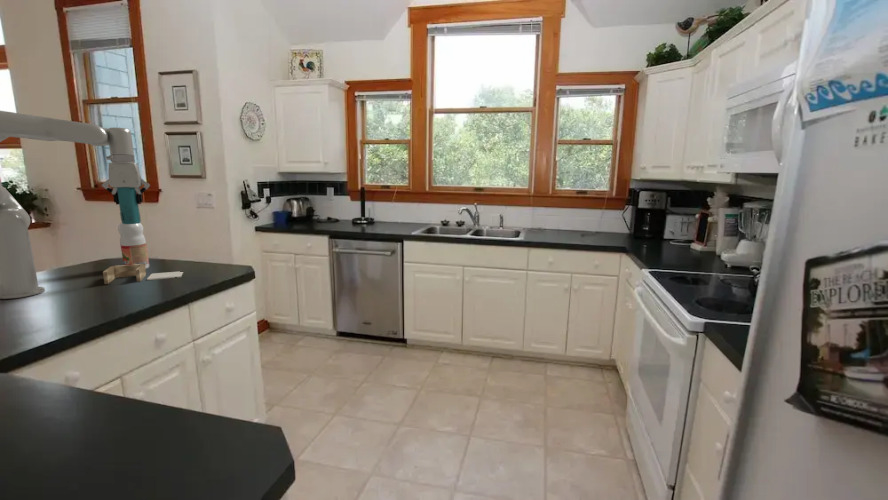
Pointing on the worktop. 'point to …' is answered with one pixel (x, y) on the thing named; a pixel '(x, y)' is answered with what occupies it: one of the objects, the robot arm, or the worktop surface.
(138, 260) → the fruit juice
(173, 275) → the trivet
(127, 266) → the bottle bracket
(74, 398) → the worktop surface
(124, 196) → the beverage bottle
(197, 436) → the worktop surface
